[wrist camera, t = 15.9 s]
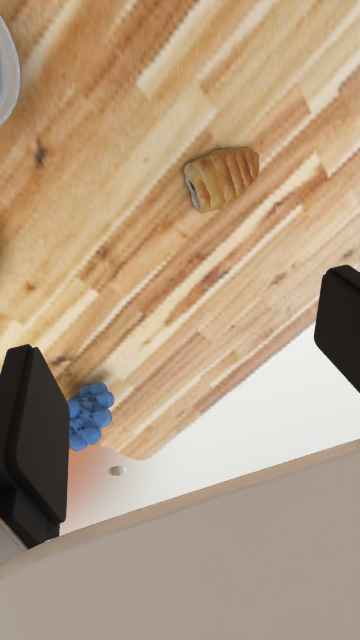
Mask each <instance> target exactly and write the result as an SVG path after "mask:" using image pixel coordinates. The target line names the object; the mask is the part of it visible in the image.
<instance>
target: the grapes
mask: <svg viewBox="0 0 360 640" xmlns="http://www.w3.org/2000/svg"><path fill="white" fill-rule="evenodd" d="M79 395H80V396H75V397H72V398H71V399H69V400H68V401H67V403H68V406H69V409H70V431H69V444H70V447H71V448H72V450H74V451H80V450H82V449H84V448H85V447H86V446H87V445H88V444H89V445H91V444H95V443H96V442H98V441H99V440H100V438H101V430H100V428H99V427H105V426H107V425H109V424H110V423H111V421H112V415H111V412H110V411H109V409H108V408H109V407H111V406H112V405H113V404H114V397H113V395H112V393H111V392H108V391H107V387H106V385H105V384H104V383H101V382H99V383H95V384H93V385H85V386H83V387H81V388H80V389H79Z"/></svg>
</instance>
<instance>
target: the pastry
mask: <svg viewBox="0 0 360 640" xmlns="http://www.w3.org/2000/svg"><path fill="white" fill-rule="evenodd" d="M258 172H259V155H258V153H257V152H255V151H254V150H252V149H250V148H249V147H243V148H233V147H232V148H228V149H224V150H215V151H213V152H212V153H211V154H209V155H207V156H204V157H201V158H199V159H197V160H195V161H193V162H190V163H187V164H186V165H185V167H184V173H185V180H186V183H187V185H188V187H189V190H190V191H191V195H192V196H191V199H192V202H193V205H194V207H195V208H196V209H197V210H198V211H199V212H201V213H205V212H208V211H214V210H218V209H221V208H223V207H224V206H226V205H227V204H229V203H231V202H233V201H234V200H235V199H237V198H238V197H239V196H240V195H241V194H242V193H243V192H244V191H245V190H246V188H247V187H248V186H250V185H251V184H252V183H253V182H254V181H255V179H256V178H257V176H258Z"/></svg>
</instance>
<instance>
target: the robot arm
mask: <svg viewBox="0 0 360 640" xmlns="http://www.w3.org/2000/svg"><path fill="white" fill-rule="evenodd" d="M314 340H315V343H316V345H317V346H318V348H319V349H320V350H321V351H322V352H323V353H324V354H325V355H326V356H327V357H328V359H329V360H330V361H331V362H332V363H333V364H334V365H335V366H336V367H337V369H338V370H339V371H340V372H341V373H342V374H343V375H344V376H345V377H346V378H347V380H348V381H349V382H350V383H351V384H352V385H353V386H354V387H355V388H356V390H357V391H358V392H359V393H360V272H358V271H357V270H355V269H354V268H352V267H351V266H349V265H342V266H338V267H334V268H330V269H329V270H328V271H327V272H326V274H325V275H324V276H323V278H322V283H321V290H320V297H319V304H318V311H317V318H316V325H315V333H314ZM69 431H70V409H69V406H68V403H67V401H66V399H65V397H64V395H63V394H62V392H61V390H60V388H59V386H58V384H57V382H56V380H55V378H54V376H53V375H52V373H51V371H50V369H49V367H48V365H47V363H46V361H45V359H44V357H43V355H42V354H41V352H40V350H39V348H38V347H34V348H32V347H31V346H30V345H29V344H26V345H22V346H18V347H14V348H10V349H8V351H7V353H6V357H5V360H4V364H3V367H2V371H1V374H0V640H360V439H358V440H354V441H351V442H348V443H345V444H342V445H339V446H335V447H332V448H329V449H326V450H323V451H319V452H316V453H313V454H310V455H307V456H304V457H300V458H297V459H294V460H291V461H288V462H284V463H282V464H278V465H275V466H272V467H269V468H265V469H262V470H259V471H256V472H253V473H250V474H246V475H243V476H240V477H237V478H234V479H231V480H228V481H224V482H221V483H218V484H215V485H212V486H209V487H206V488H203V489H200V490H197V491H193V492H190V493H187V494H184V495H181V496H178V497H175V498H172V499H169V500H165V501H162V502H160V503H156V504H153V505H150V506H147V507H144V508H141V509H138V510H134V511H131V512H128V513H126V514H123V515H120V516H117V517H114V518H111V519H108V520H105V521H102V522H99V523H96V524H93V525H90V526H88V527H85V528H82V529H79V530H76V531H73V532H70V533H68V534H65V535H62V536H60V537H59V528H60V523H62V522H64V521H65V519H66V506H67V481H68V457H69ZM56 537H57V538H56ZM53 538H55V539H53ZM50 539H52V540H50ZM47 540H50V541H47ZM45 541H47V542H45Z"/></svg>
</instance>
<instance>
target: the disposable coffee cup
mask: <svg viewBox="0 0 360 640" xmlns="http://www.w3.org/2000/svg"><path fill="white" fill-rule="evenodd" d="M19 90H20V64H19V60H18V55H17V51H16V48H15V44H14V42H13V39H12V37H11V35H10V32H9V30H8V28H7V26H6V24H5V22H4V21H3V19H2V17H1V16H0V125H1V124H2V123H3V122H4V121H6V119H7V118H8V117H9V116H10V114H11V112H12V111H13V109H14V107H15V105H16V102H17V99H18V96H19Z"/></svg>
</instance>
